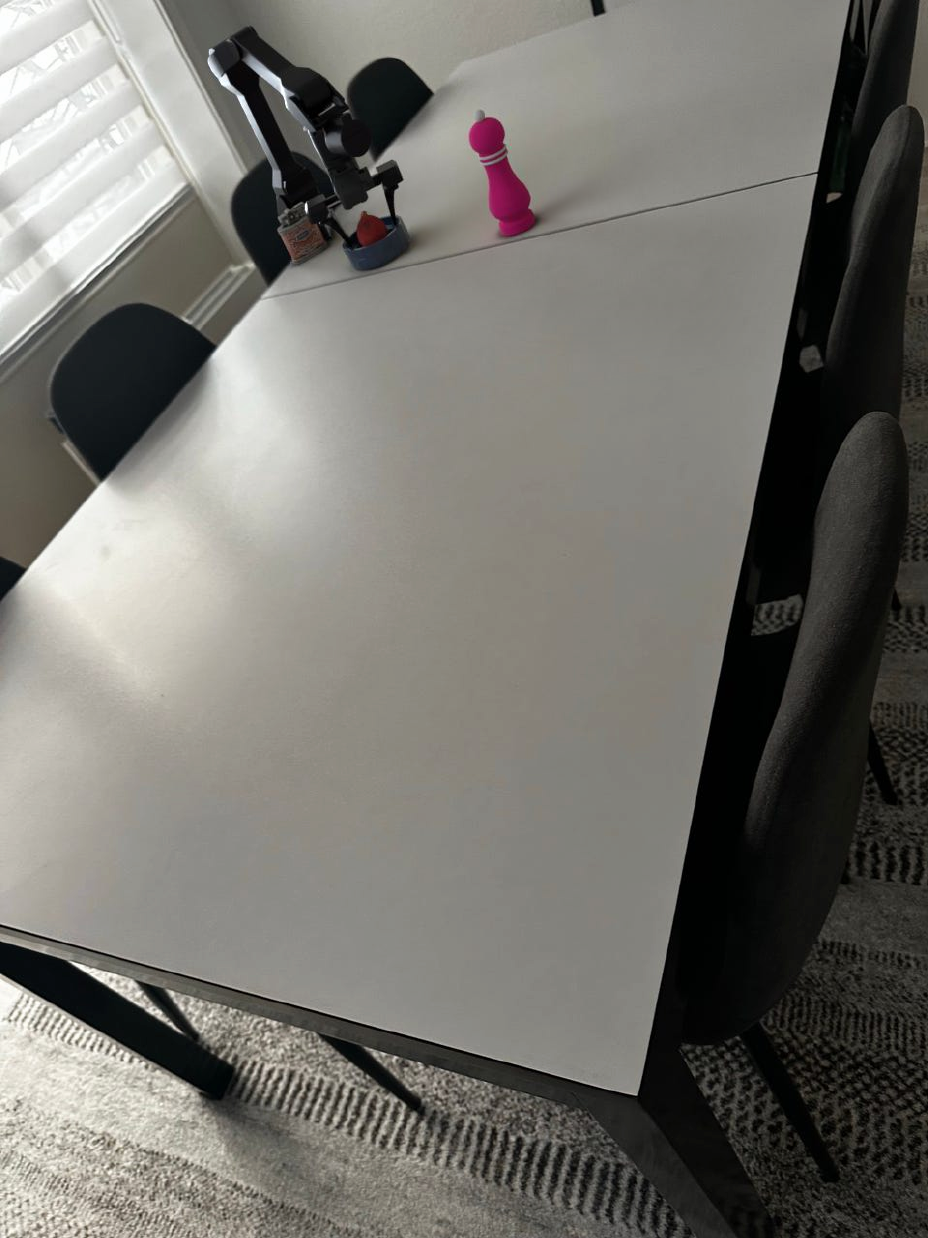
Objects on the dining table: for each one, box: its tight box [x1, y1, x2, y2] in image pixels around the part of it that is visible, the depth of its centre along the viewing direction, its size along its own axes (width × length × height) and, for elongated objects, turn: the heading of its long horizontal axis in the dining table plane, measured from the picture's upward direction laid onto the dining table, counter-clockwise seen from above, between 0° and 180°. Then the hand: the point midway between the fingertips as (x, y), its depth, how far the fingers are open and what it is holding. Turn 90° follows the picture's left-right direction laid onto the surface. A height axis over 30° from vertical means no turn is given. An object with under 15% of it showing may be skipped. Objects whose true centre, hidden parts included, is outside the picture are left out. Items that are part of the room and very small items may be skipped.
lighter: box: [277, 202, 328, 265], centre depth 190 cm, size 8×3×10 cm, turn 118°
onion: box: [356, 210, 388, 247], centre depth 175 cm, size 6×6×8 cm
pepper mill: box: [468, 109, 536, 237], centre depth 156 cm, size 7×7×20 cm
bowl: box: [341, 214, 412, 271], centre depth 177 cm, size 12×12×4 cm
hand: (373, 235), depth 176 cm, fingers open, 9 cm apart
